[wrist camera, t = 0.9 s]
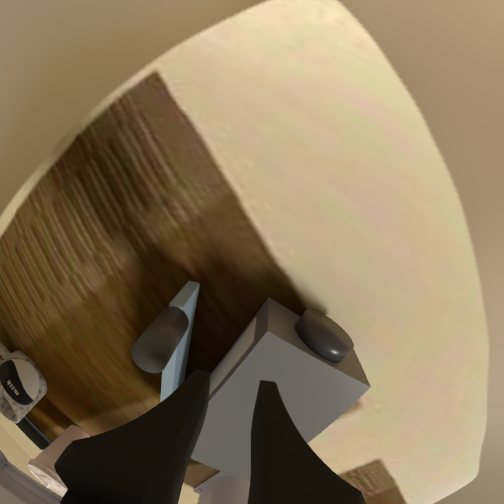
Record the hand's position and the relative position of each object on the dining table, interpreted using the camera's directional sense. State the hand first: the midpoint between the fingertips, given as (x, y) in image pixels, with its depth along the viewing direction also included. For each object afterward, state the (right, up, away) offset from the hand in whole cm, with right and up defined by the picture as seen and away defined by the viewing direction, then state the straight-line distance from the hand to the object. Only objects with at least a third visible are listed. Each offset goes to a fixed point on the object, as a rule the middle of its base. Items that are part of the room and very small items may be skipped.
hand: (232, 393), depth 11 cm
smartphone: (-38, -21, +18) cm, 47 cm away
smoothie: (-22, -18, +15) cm, 32 cm away
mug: (-28, -8, +14) cm, 32 cm away
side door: (-4, -2, +10) cm, 11 cm away
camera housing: (+1, -5, +11) cm, 12 cm away
